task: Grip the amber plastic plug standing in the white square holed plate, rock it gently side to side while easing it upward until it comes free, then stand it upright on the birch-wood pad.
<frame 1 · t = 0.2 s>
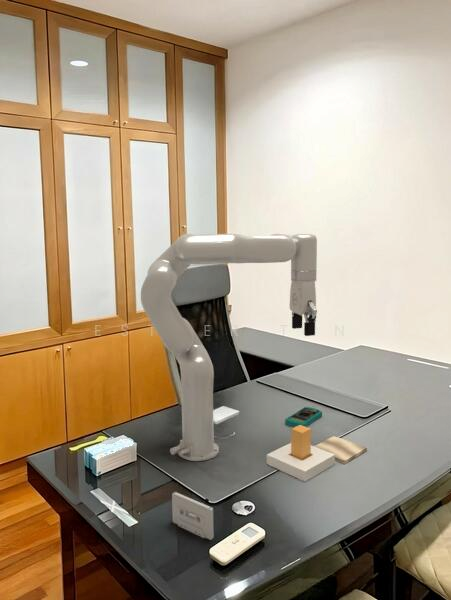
hand: (303, 331, 161), 37 cm above the table, tool pointing down, fingers open, 9 cm apart
digital multimeter: (303, 422, 186), on the table
plug: (300, 446, 153), in the white square holed plate
pad: (338, 450, 163), on the table
white square holed plate: (300, 464, 154), on the table
hard drive: (219, 417, 191), on the table
cassette: (192, 531, 124), on the table
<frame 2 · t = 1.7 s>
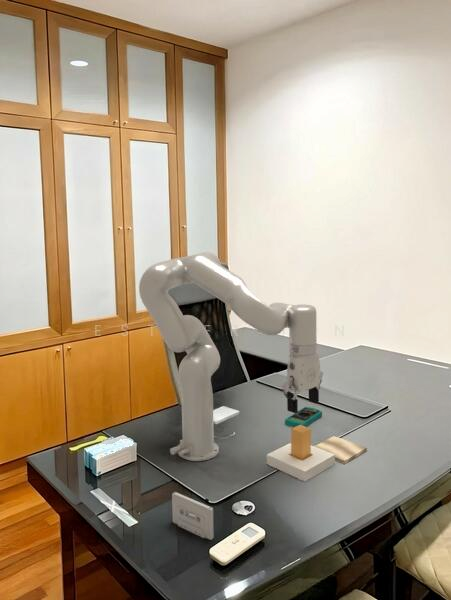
hand: (303, 407, 151), 18 cm above the table, tool pointing down, fingers open, 9 cm apart
nothing on the table moved.
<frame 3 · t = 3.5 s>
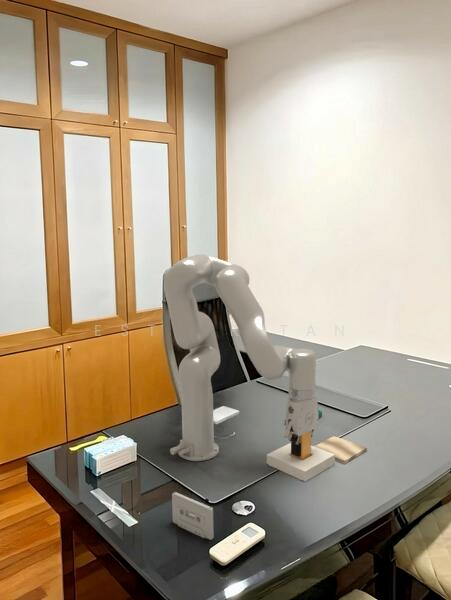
hand: (300, 451, 154), 4 cm above the table, tool pointing down, fingers closed on plug, 4 cm apart
plug: (301, 446, 153), in the white square holed plate, touching gripper
everything else where it was.
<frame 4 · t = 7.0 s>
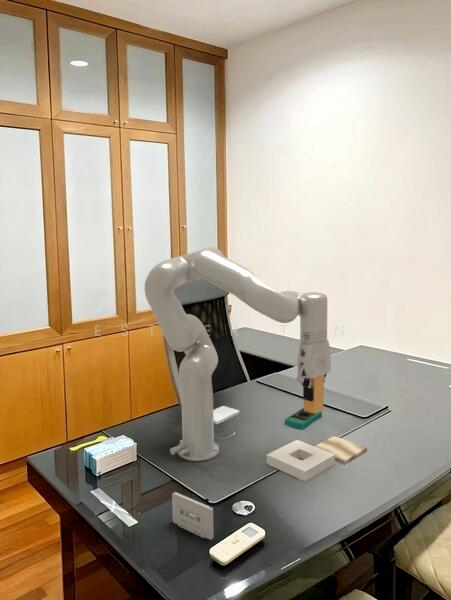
hand: (313, 397, 153), 20 cm above the table, tool pointing down, fingers closed on plug, 4 cm apart
plug: (313, 392, 153), point 21 cm above the table, touching gripper
everything else where it was.
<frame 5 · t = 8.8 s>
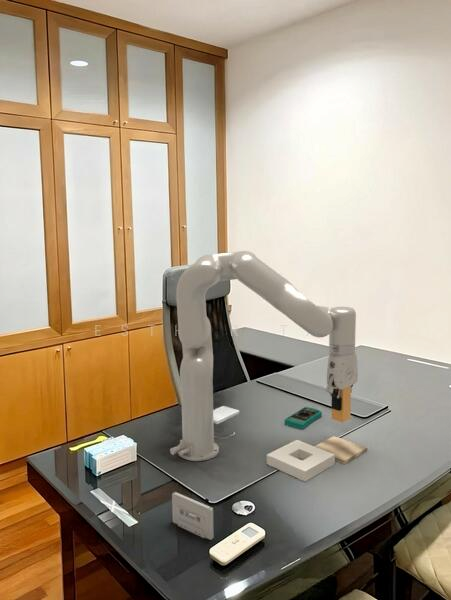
hand: (340, 406, 160), 14 cm above the table, tool pointing down, fingers closed on plug, 4 cm apart
plug: (341, 401, 160), point 16 cm above the table, touching gripper
everything else where it was.
when the fingers open (6 cm above the table, at t = 10.5 s): plug drops 1 cm, resting on pad.
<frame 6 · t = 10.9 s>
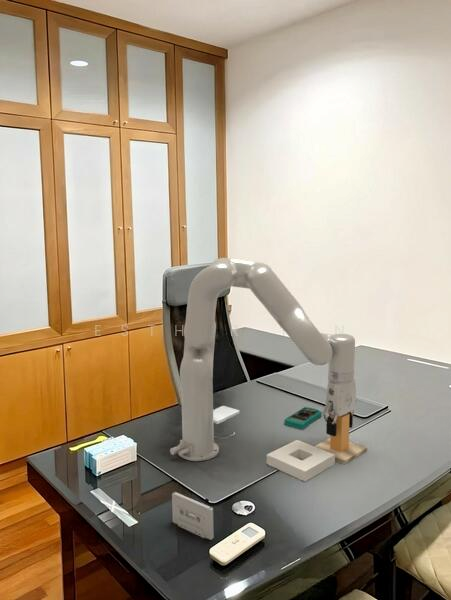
hand: (339, 430, 161), 7 cm above the table, tool pointing down, fingers open, 8 cm apart
plug: (339, 431, 161), on the pad, point 6 cm above the table
everything else where it was.
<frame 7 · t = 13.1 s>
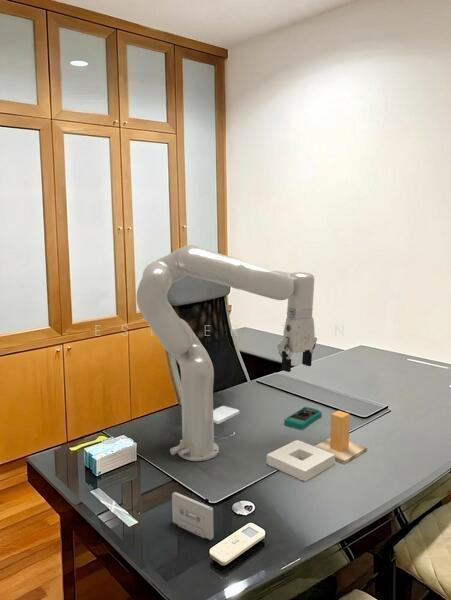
hand: (296, 368, 163), 25 cm above the table, tool pointing down, fingers open, 9 cm apart
nothing on the table moved.
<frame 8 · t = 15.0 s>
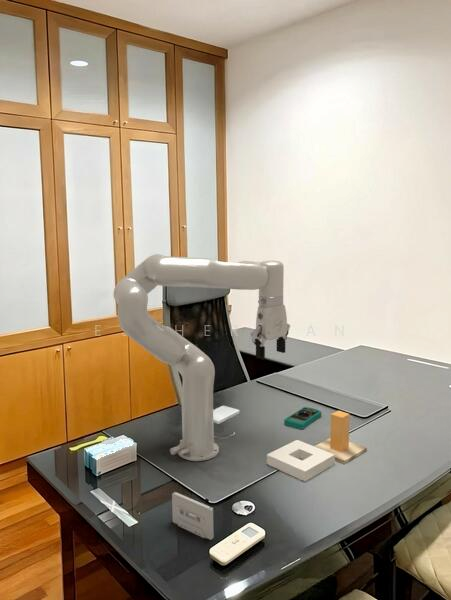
hand: (270, 355, 166), 28 cm above the table, tool pointing down, fingers open, 9 cm apart
nothing on the table moved.
at the end: plug inside the target area on the pad (0.2 cm from its centre), point 6.5 cm above the pad's base; plug tilted 0°; the gripper is holding nothing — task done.
